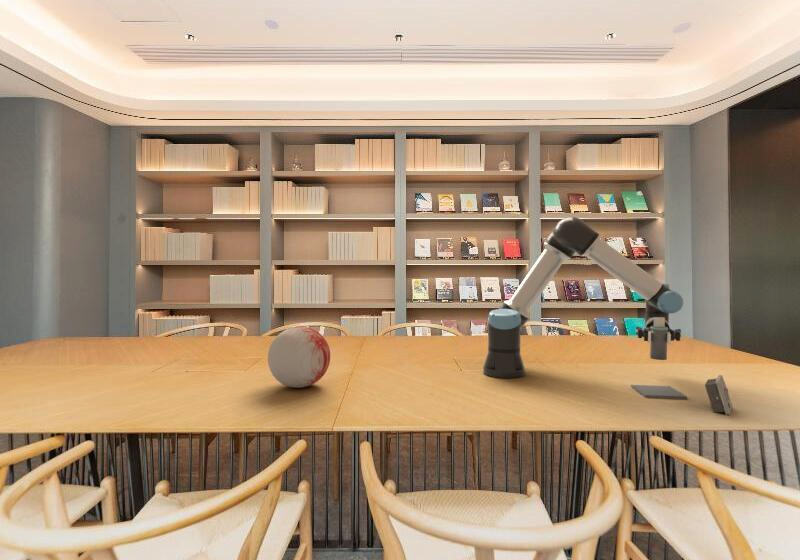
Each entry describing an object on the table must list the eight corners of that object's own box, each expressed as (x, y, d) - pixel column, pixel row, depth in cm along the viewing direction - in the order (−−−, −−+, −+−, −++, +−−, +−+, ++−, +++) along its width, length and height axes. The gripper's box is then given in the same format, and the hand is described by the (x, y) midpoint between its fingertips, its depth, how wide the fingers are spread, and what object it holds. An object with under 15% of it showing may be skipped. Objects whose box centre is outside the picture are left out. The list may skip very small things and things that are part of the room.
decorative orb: (301, 376, 170) (301, 321, 170) (342, 384, 159) (342, 325, 158) (253, 389, 153) (252, 328, 152) (295, 399, 142) (295, 333, 141)
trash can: (649, 359, 147) (650, 317, 147) (649, 356, 152) (650, 316, 151) (667, 360, 145) (668, 318, 145) (666, 357, 150) (667, 317, 149)
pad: (644, 397, 144) (645, 394, 144) (630, 387, 156) (631, 384, 156) (687, 399, 142) (687, 396, 142) (669, 388, 154) (669, 386, 154)
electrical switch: (729, 416, 127) (726, 381, 127) (707, 414, 130) (704, 380, 130) (732, 407, 134) (729, 375, 134) (710, 406, 137) (707, 374, 137)
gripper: (686, 341, 160) (692, 353, 140) (629, 338, 168) (627, 348, 148) (687, 319, 160) (693, 328, 139) (629, 317, 168) (627, 324, 147)
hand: (659, 338), depth 144 cm, fingers closed on trash can, 4 cm apart
